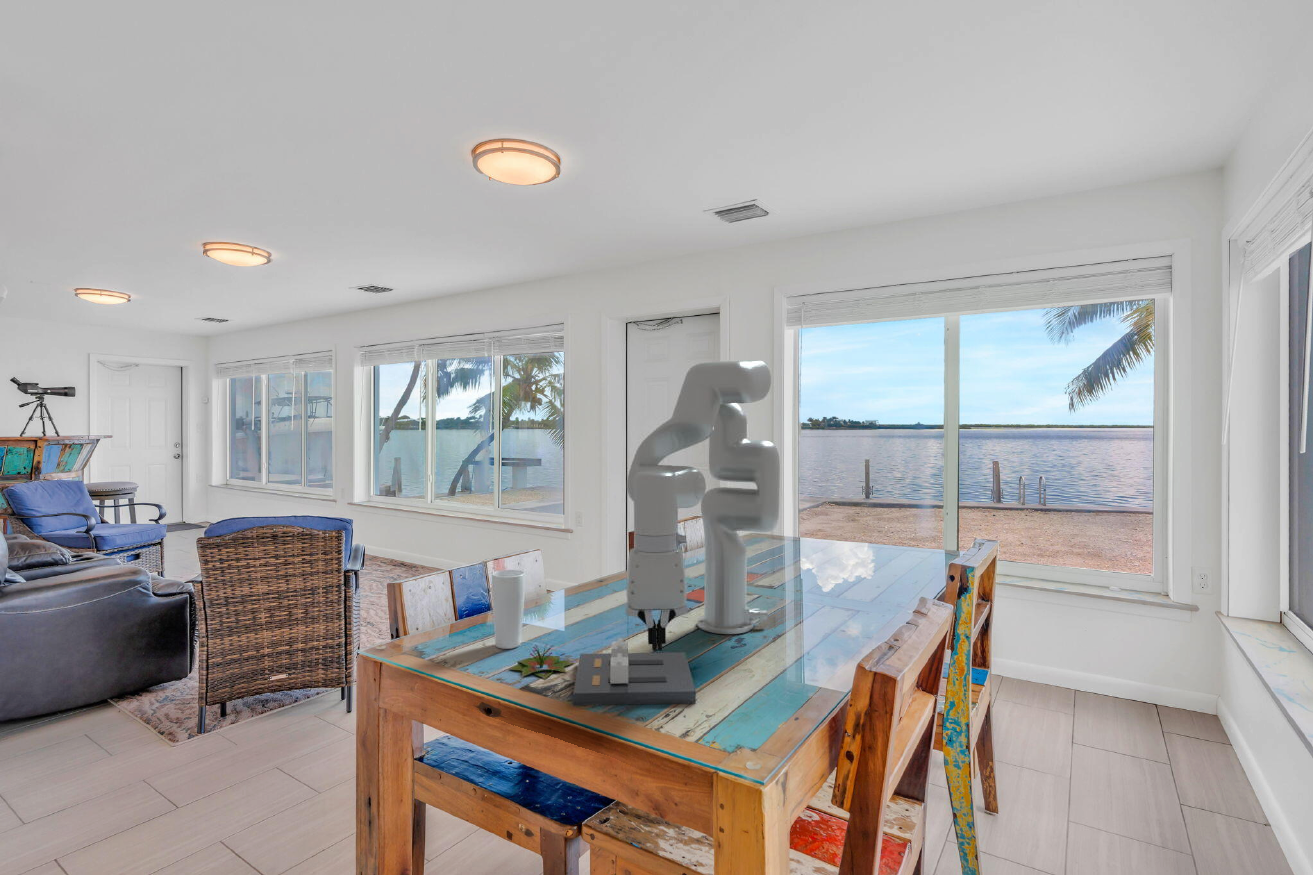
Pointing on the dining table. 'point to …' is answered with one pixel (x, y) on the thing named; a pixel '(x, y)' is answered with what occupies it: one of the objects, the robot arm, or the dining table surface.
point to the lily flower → (541, 664)
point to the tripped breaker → (619, 669)
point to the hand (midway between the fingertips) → (656, 647)
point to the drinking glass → (508, 607)
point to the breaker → (619, 648)
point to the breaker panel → (635, 680)
